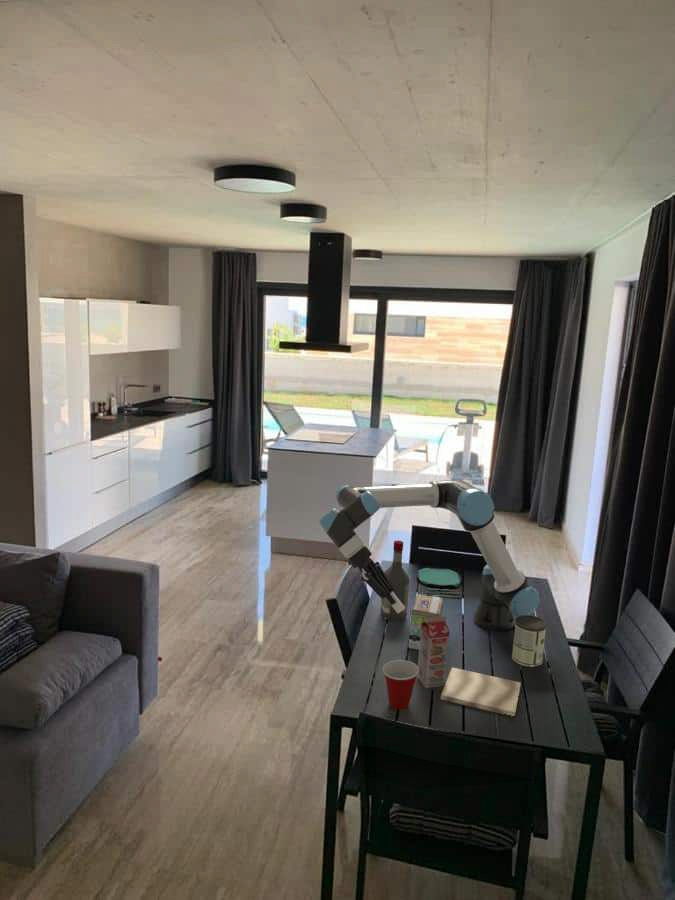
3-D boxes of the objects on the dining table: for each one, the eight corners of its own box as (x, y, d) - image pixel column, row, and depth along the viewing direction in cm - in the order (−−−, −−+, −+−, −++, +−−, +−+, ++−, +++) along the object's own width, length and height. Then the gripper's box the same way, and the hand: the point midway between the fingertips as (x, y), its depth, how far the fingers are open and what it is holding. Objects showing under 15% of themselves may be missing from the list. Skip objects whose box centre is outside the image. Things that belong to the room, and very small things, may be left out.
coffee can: (512, 649, 238) (516, 612, 235) (542, 656, 234) (547, 618, 232) (510, 663, 228) (514, 624, 225) (541, 669, 225) (546, 630, 222)
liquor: (402, 610, 265) (407, 538, 260) (407, 620, 257) (413, 546, 251) (379, 610, 264) (384, 538, 258) (384, 621, 255) (389, 546, 249)
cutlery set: (458, 573, 309) (459, 568, 308) (466, 601, 279) (466, 596, 279) (415, 570, 310) (415, 566, 309) (418, 598, 281) (418, 592, 280)
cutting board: (440, 699, 204) (441, 694, 204) (451, 671, 221) (452, 667, 220) (514, 716, 197) (515, 712, 196) (520, 686, 213) (520, 682, 213)
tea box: (436, 653, 232) (439, 613, 230) (407, 648, 235) (410, 609, 232) (440, 634, 247) (443, 596, 244) (413, 630, 249) (416, 592, 246)
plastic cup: (377, 694, 205) (380, 658, 202) (412, 694, 206) (415, 658, 203) (382, 715, 194) (385, 677, 192) (419, 715, 195) (422, 677, 193)
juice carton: (417, 677, 216) (422, 613, 212) (436, 674, 218) (441, 611, 214) (425, 687, 210) (430, 622, 206) (444, 685, 212) (450, 620, 208)
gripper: (354, 552, 224) (398, 609, 221) (340, 564, 212) (387, 624, 209) (370, 539, 221) (415, 597, 218) (357, 551, 209) (405, 612, 206)
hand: (401, 610), depth 214 cm, fingers closed
